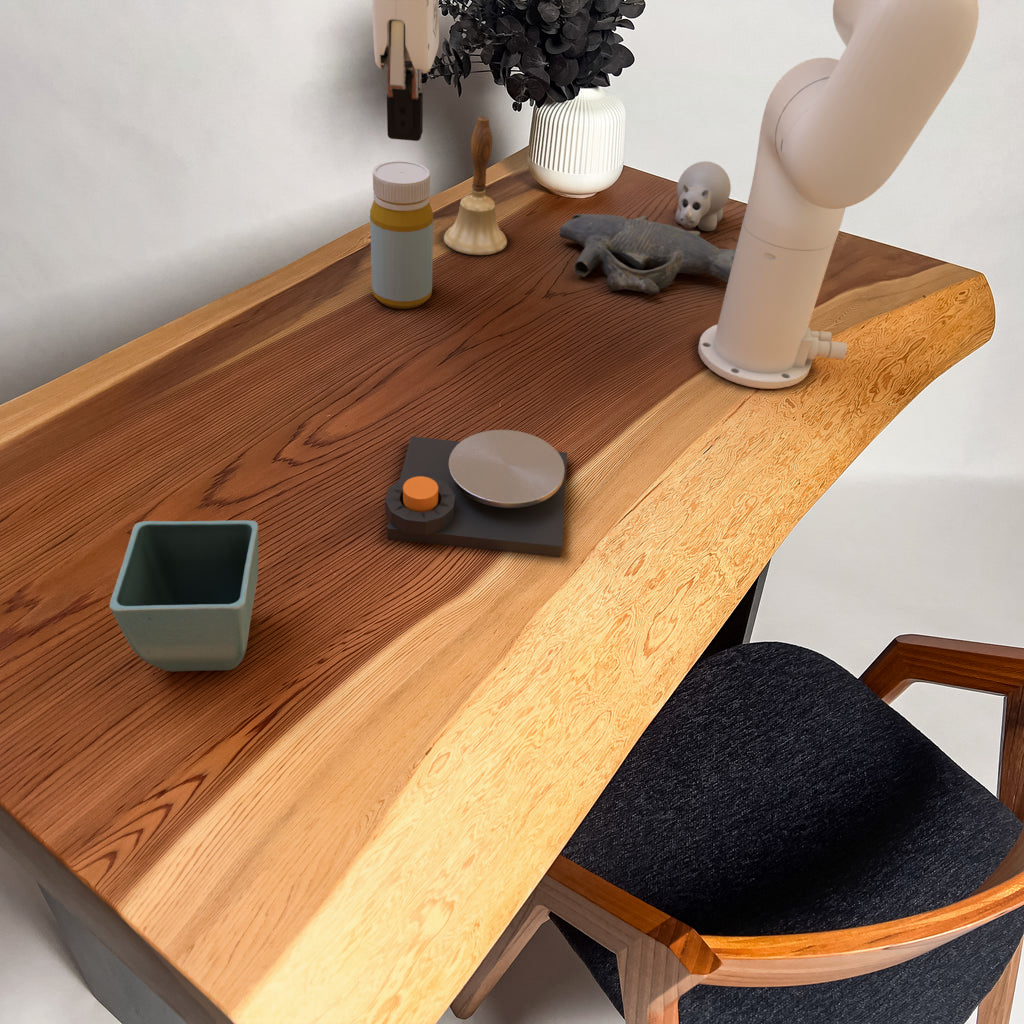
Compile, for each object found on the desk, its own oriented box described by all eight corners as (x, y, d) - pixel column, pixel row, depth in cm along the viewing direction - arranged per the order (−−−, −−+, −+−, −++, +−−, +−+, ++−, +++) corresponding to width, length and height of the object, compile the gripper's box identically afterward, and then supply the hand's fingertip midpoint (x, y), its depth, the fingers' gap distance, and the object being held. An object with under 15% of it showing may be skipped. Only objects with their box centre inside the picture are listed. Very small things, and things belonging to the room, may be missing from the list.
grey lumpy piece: (580, 189, 127) (531, 244, 118) (763, 234, 120) (726, 297, 111) (579, 223, 131) (531, 279, 122) (756, 269, 124) (719, 332, 114)
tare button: (440, 491, 84) (440, 478, 83) (435, 514, 82) (435, 500, 81) (406, 488, 84) (406, 474, 83) (400, 510, 82) (400, 497, 81)
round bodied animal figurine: (653, 239, 130) (664, 178, 124) (679, 207, 138) (691, 148, 132) (704, 253, 128) (717, 191, 122) (728, 220, 136) (742, 160, 130)
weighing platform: (566, 440, 90) (566, 435, 90) (561, 514, 82) (562, 508, 82) (455, 429, 90) (456, 424, 90) (441, 501, 82) (441, 496, 82)
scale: (565, 463, 92) (569, 439, 90) (560, 561, 82) (563, 536, 80) (406, 447, 92) (406, 422, 90) (381, 542, 82) (380, 517, 80)
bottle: (436, 284, 116) (438, 162, 106) (426, 314, 111) (428, 188, 101) (379, 278, 116) (376, 156, 106) (366, 307, 111) (362, 181, 101)
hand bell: (515, 234, 128) (525, 112, 117) (494, 261, 122) (502, 135, 111) (457, 221, 129) (461, 100, 119) (433, 247, 123) (436, 121, 113)
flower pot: (156, 603, 76) (134, 519, 70) (270, 602, 77) (259, 518, 71) (132, 693, 69) (106, 609, 63) (258, 691, 70) (244, 607, 64)
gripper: (438, -59, 76) (435, 170, 88) (455, -95, 87) (451, 112, 99) (343, -67, 75) (353, 163, 88) (373, -102, 87) (378, 106, 99)
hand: (405, 136), depth 93 cm, fingers closed
